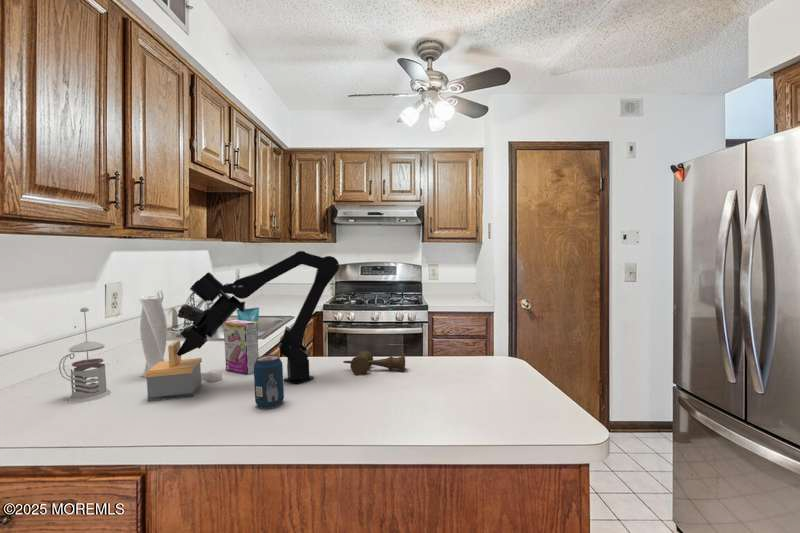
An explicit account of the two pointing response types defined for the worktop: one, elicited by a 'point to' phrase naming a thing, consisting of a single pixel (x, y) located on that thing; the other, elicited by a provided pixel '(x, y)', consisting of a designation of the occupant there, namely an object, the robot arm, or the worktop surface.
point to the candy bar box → (240, 345)
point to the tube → (249, 315)
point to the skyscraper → (153, 330)
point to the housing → (174, 385)
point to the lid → (173, 363)
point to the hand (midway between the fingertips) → (178, 354)
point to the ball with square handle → (212, 375)
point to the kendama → (374, 363)
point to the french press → (87, 372)
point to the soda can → (268, 381)
